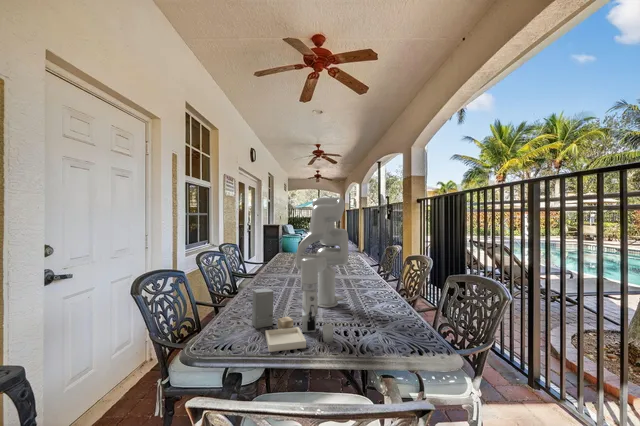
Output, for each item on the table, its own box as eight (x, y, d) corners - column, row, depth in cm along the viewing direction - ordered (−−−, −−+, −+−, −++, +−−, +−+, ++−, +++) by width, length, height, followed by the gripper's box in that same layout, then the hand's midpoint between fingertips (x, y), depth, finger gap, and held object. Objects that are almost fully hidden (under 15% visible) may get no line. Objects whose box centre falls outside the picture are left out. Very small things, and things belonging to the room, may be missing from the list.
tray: (298, 332, 126) (298, 327, 126) (306, 347, 112) (306, 341, 112) (265, 336, 122) (265, 330, 122) (269, 352, 108) (269, 345, 108)
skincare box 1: (255, 329, 129) (255, 293, 129) (251, 323, 136) (251, 289, 136) (273, 325, 133) (274, 290, 133) (269, 320, 140) (269, 287, 139)
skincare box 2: (301, 327, 132) (302, 310, 132) (315, 326, 133) (315, 310, 132) (302, 332, 126) (302, 315, 126) (316, 332, 126) (316, 315, 126)
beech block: (288, 327, 132) (288, 316, 132) (293, 331, 127) (293, 320, 127) (277, 329, 129) (277, 318, 129) (282, 333, 125) (282, 322, 125)
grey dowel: (331, 337, 121) (331, 323, 121) (334, 341, 118) (334, 326, 117) (321, 338, 120) (322, 324, 120) (324, 343, 116) (324, 327, 116)
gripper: (323, 291, 122) (322, 334, 122) (312, 281, 138) (312, 319, 139) (305, 292, 120) (305, 336, 120) (296, 282, 136) (296, 320, 137)
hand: (309, 326), depth 129 cm, fingers closed on skincare box 2, 6 cm apart
